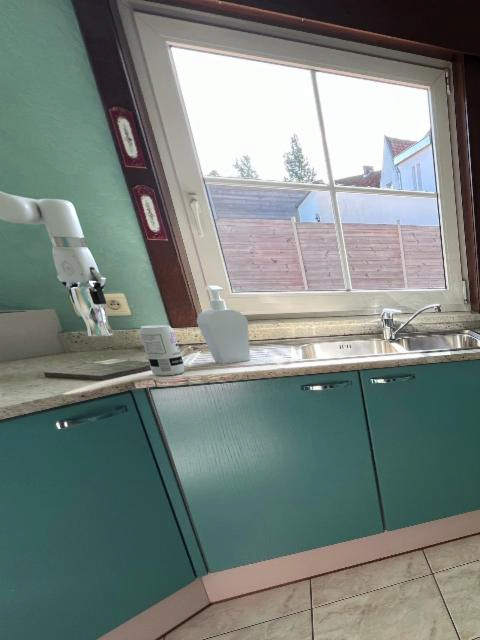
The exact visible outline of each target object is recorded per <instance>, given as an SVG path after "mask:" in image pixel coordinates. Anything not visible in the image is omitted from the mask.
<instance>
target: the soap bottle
mask: <svg viewBox="0 0 480 640" xmlns="http://www.w3.org/2000/svg"><path fill="white" fill-rule="evenodd" d="M203 289H204V291H209V290H210V293H211V295H212V299H210V300H209V302H210V306H211V308H206V309H205V310H203V311H201V312H200V313H199V315H198V316H197V317H196V324H197V326H198V328H199V330H200V333H201V335H202V337H203V339H204V342H205V343H206V346H207V348H208V350H209V352H210V354H211V356H212V358H213V360H214V362H215V363H219V364H223V365H228V364H233V363H242V362H247V361H250V360H251V355H250V338H249V337H250V336H249V320H248V319H247V317H246V316H245V315H244V314H242V313H241V312H239V311H237V310H234V309H231V308H227V304H226V300H225V299H221V296H220V292H221V291H223V292H224V288H223V287H221V286H219V285H205V286H204V288H203ZM219 291H220V292H219Z"/></svg>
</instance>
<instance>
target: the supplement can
mask: <svg viewBox="0 0 480 640" xmlns="http://www.w3.org/2000/svg"><path fill="white" fill-rule="evenodd" d="M139 336H140V338H141V342H142V346H143V348H144V351H145V355H146V357H147V362H149V364H150V367H151V370H150V371H151V373H152V374H153V375H155V376H156V375H172V376H174V375H173V374H178V375H181V374H180V373H182V374H184V373H185V371H186V367H185V363H184V360H183V356H182V354H181V353H182V352H181V350H180V346H179V342H178V340H177V336H176V333H175V330H174V329H173V328H172V326H171V325H170V324H149V325H142V326H140V329H139ZM183 372H184V373H183Z"/></svg>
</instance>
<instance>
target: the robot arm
mask: <svg viewBox="0 0 480 640" xmlns="http://www.w3.org/2000/svg"><path fill="white" fill-rule="evenodd" d="M0 220H2V221H5V222H8V223H11V224H19V225H30V226H37V225H45V228H46V231H47V233H48V237H49V239H50V242H51V244H52V252H51V253H52V258H53V263H54V266H55V269H56V273H57V276H56V279H58V280H59V281H60V283H62V285H63V286H64V287H65V289H66V291H68V293H69V295H70V298H71V301H72V303H73V304H74V305H75V302H74V299H73V296H72V292H71V287H80V285H81V284H86V285H87V287H90V289H91V290H92V291H90V292H91V295H92V298H93V301H94V304H96V305H99V304H107V300H106V296H105V293H104V291H105V286H106V285H105V284H106V281H107V279H106V278H105V276H103V275H102V274H101V273H100V270H99V268H98V266H97V263H96V261H95V258H94V256H93V254H92V252H91V251H90V249H89V247H88V244H87V242H86V237H85V235H84V233H83V229H82V227H81V223H80V219H79V217H78V214H77V211H76V208H75V206H74V204H73V203H72V202H71V201H69V200H66V199H58V198H39V199H38V198H31V197H25V196H20V195H16V194H15V195H14V194H10V193H8V192H7V193H6V192H4V191H1V190H0Z"/></svg>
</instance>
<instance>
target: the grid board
mask: <svg viewBox="0 0 480 640" xmlns="http://www.w3.org/2000/svg"><path fill="white" fill-rule="evenodd" d="M148 370H149V371H152V370H151V367H150V364H149V361H148V360H130V359H116V358H115V359H114V358H111V359H106V360H99V361H95V362H90V363H85V364H79V365H74V366H67V367H64V368H58V369H53V370H47V371H43V374H44V377H45V378H57V379H70V380H71V379H73V380H87V381H88V380H89V381H107V380H108V381H109V380H112V379H116V378H121V377H126V376H131V375H136V374H139V373H143V372H148Z"/></svg>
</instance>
